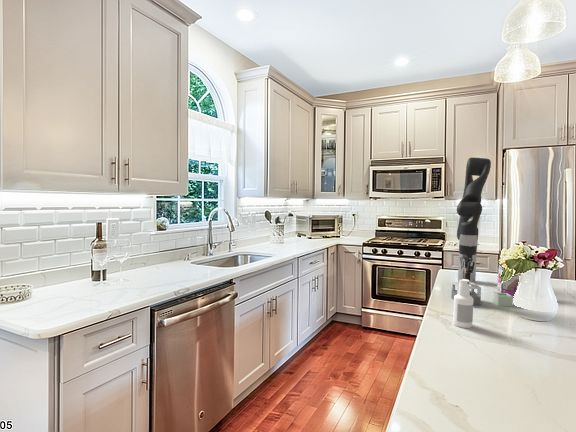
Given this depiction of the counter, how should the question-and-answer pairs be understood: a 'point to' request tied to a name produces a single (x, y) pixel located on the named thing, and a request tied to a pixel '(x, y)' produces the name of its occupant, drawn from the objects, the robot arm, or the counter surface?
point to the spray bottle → (463, 306)
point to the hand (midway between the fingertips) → (466, 279)
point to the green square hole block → (502, 299)
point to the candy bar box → (507, 284)
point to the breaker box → (474, 295)
